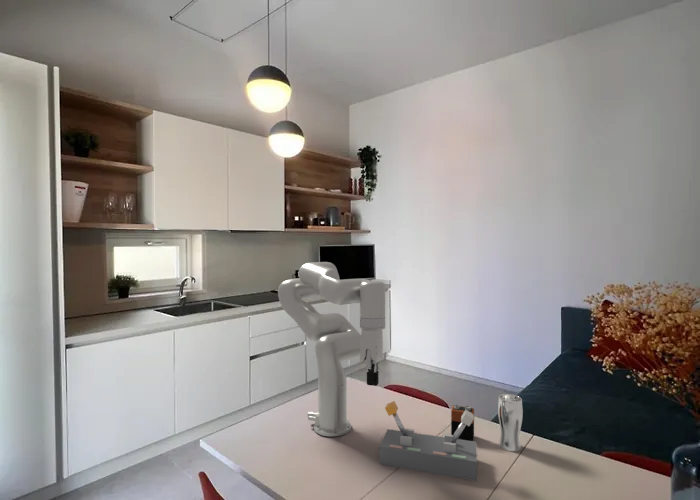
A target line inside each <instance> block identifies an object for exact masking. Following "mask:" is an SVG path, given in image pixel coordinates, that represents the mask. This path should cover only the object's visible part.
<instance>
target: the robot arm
mask: <svg viewBox="0 0 700 500" xmlns="http://www.w3.org/2000/svg"><path fill="white" fill-rule="evenodd" d="M297 274H298V278H290V279H287V280H284V281H282V282H281V283H280V284H279V286H278V289H277V297H278V300H279V303H280V306H281V307H282V309H283V310H284V312H285V313H286V314H287V315H289V317H290V318H291V319H293V320H294V322H295V323H296V324H297V326H298V327H299V328H300V330H301V331H302V332H303V333H304V335H305V336H306V337H307V338H308V340H309V341H311V342H312V343H315V349H314V350H315V356H316V357H315V358H316V363H317V374H318V375H317V377H318V378H317V380H318V382H317V383H318V386H317V387H318V390H317V392H318V403H317V405H318V407H317V408H318V411H317V412H314V411H308V412H307V419H308V420H307V421H311V422H312V421H313V422H314V423H313V430H314V432H315V433H316V434H318V435H320V436H324V437H331V438H332V437H334V438H335V437H340V436H344V435H346V434H348V433H349V432H350V431H351V430H352V423H351V421H349V420H348V419H347V415H348V414H347V412H348V411H347V410H348V409H347V403H348V402H347V401H348V400H347V396H348V395H347V390H348V387H347V384H348V383H347V382H348V381H347V373H346V370H344V367H343V366H342V362H345V361H350V360H353V359H357V358H359V362H360V364H363V363H364V362H365V363H366V364H365V369H366V385H367V386H373V387H374V386H375V387H378V385H379V375H380V374H379V361H380V360H381V359H382V357H383V351H384V347H383V346H384V344H383V343H384V342H383V341H384V337H383V330H384V329H386V285H385V283H384V282H383V281H379V280H371V279H367V278H348V279H340V275H339V272H338V269H337V267H336V265H335V264H334V263H332V262H330V261H329V262H328V261H316V262H314V261H311V262H306V263H304V264H303V265H301V267H300V268H299V270H298V273H297ZM319 298H322V299H323V300H324V301H327V302H329V303H332V304H334V305H341V306H342V305H349V304H350V305H351V304H359V328H360V329H361V333H360V332H359V331H358V330H357V329H356V327H355V326H353V324H351V322H350V321H349V320H348V319H347V318H346V317H345V316H344V315H342V314H340V313H336V312H331V313H320V312H319V311H318V310H317V309H316V308H315V307H314V306H313V305H312V304H310V303H309V302H306V301H308V300H317V299H319Z"/></svg>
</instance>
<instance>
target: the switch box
mask: <svg viewBox="0 0 700 500" xmlns="http://www.w3.org/2000/svg"><path fill="white" fill-rule="evenodd" d="M405 430H406V432H407V434H408V436H409V437H408V436H403V435H402V433H401V431H400V430H396V429H388V428H387V430H386V431H385V434H384V436H383V438H382V440H381V443H380V444H379V448H378V449H379V453H378V454H379V457H378V458H379V463H378V464H379V465H382V466H387V467H393V468H399V469H405V470H411V471H418V472H422V473H428V474H433V475H440V476H445V477H452V478H456V479H457V478H458V479H464V480H469V481H474V482H475V481H476V482H477V480H478V479H477V478H478V477H477V473H478V472H477V471H478V470H477V467H478V466H477V465H478V464H477V462H478V460H477V459H478V458H477V441H474V440H473V441H467V440H462V439H457V440H456V442H455V443H449V441H450V439H451V438H452V436H453V435H451V434H446V433H445V434H444V436H437V435H431V434H424V433H418V432H415V429H412V428H411V429H410V428H405Z"/></svg>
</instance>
